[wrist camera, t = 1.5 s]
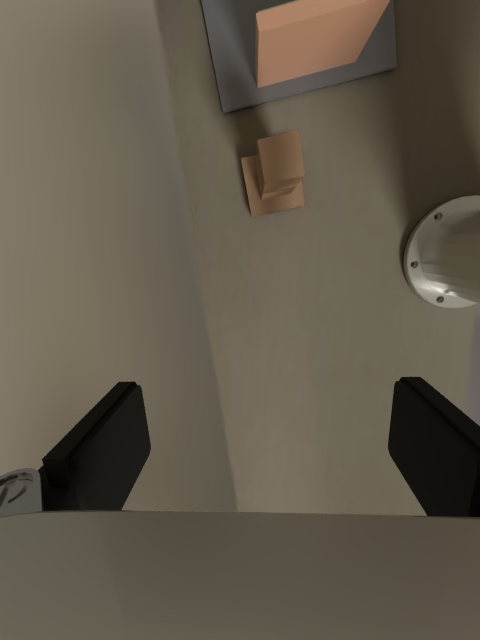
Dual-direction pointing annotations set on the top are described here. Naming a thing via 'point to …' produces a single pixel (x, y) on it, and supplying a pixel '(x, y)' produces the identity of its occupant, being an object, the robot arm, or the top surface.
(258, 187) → the wooden block
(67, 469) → the robot arm
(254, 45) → the mat
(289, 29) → the tile
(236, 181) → the top surface
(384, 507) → the top surface
